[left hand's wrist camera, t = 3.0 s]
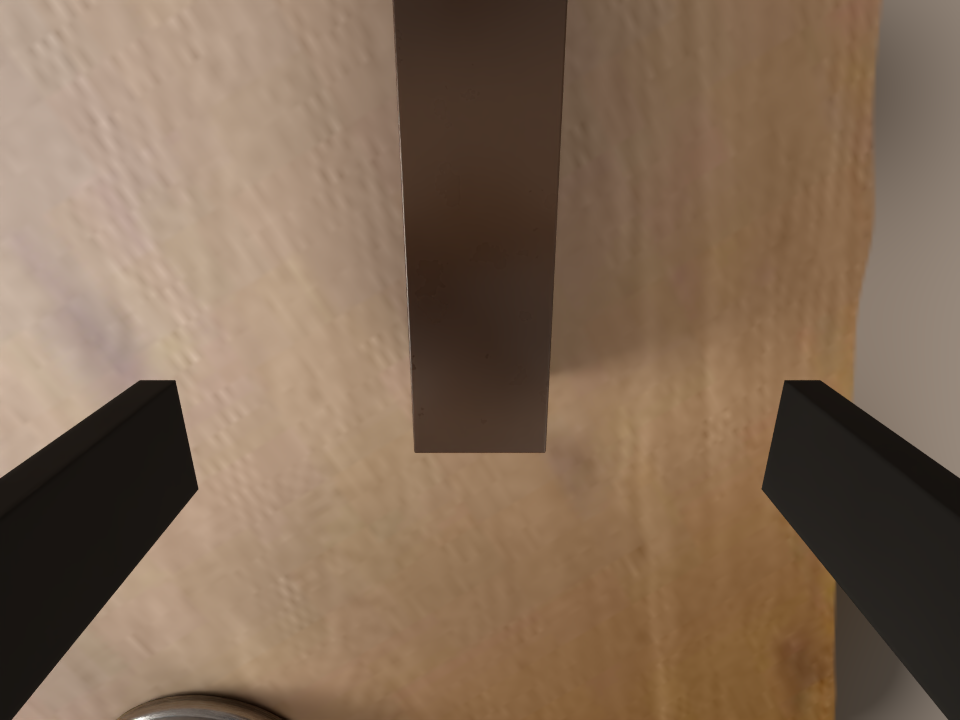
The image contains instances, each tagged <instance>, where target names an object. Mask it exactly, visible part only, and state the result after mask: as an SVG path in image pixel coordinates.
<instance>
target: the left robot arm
mask: <svg viewBox="0 0 960 720" xmlns="http://www.w3.org/2000/svg"><path fill="white" fill-rule="evenodd" d="M197 490H198V485H197V480H196V475H195V471H194V466H193V461H192V456H191V452H190V447H189V442H188V438H187V433H186V428H185V423H184V419H183V414H182V409H181V405H180V400H179V395H178V390H177V386H176V381H175V380H140V381H138V382H137V383H135V384H134V385H132V386H131V387H130V388H128V389H127V390H125V391H124V392H123V393H121V394H120V395H118V396H117V397H115V398H114V399H113V400H111V401H110V402H108V403H107V404H105V405H104V406H103V407H101V408H100V409H98V410H97V411H95V412H94V413H93V414H91V415H90V416H88V417H87V418H85V419H84V420H83V421H81V422H80V423H78V424H77V425H76V426H74V427H73V428H71V429H70V430H68V431H67V432H66V433H64V434H63V435H61V436H60V437H58V438H57V439H56V440H54V441H53V442H51V443H50V444H48V445H47V446H46V447H44V448H43V449H41V450H40V451H39V452H37V453H36V454H34V455H33V456H31V457H30V458H29V459H27V460H26V461H24V462H23V463H21V464H20V465H19V466H17V467H16V468H14V469H13V470H11V471H10V472H9V473H7V474H6V475H4V476H3V477H1V478H0V720H12V719H13V717H14V716H15V715H16V714H17V713H18V711H19V710H20V709H21V708H22V706H23V705H24V704H25V703H26V701H27V700H28V699H29V698H30V696H31V695H32V694H33V693H34V692H35V690H36V689H37V688H38V687H39V685H40V684H41V683H42V682H43V680H44V679H45V678H46V677H47V675H48V674H49V673H50V672H51V671H52V669H53V668H54V667H55V666H56V664H57V663H58V662H59V661H60V659H61V658H62V657H63V656H64V654H65V653H66V652H67V651H68V650H69V648H70V647H71V646H72V645H73V643H74V642H75V641H76V640H77V638H78V637H79V636H80V635H81V633H82V632H83V631H84V630H85V629H86V627H87V626H88V625H89V624H90V622H91V621H92V620H93V619H94V617H95V616H96V615H97V614H98V613H99V611H100V610H101V609H102V608H103V606H104V605H105V604H106V603H107V601H108V600H109V599H110V598H111V596H112V595H113V594H114V593H115V592H116V590H117V589H118V588H119V587H120V585H121V584H122V583H123V582H124V580H125V579H126V578H127V577H128V575H129V574H130V573H131V572H132V571H133V569H134V568H135V567H136V566H137V564H138V563H139V562H140V561H141V559H142V558H143V557H144V556H145V554H146V553H147V552H148V551H149V550H150V548H151V547H152V546H153V545H154V543H155V542H156V541H157V540H158V538H159V537H160V536H161V535H162V533H163V532H164V531H165V530H166V529H167V527H168V526H169V525H170V524H171V522H172V521H173V520H174V519H175V517H176V516H177V515H178V514H179V512H180V511H181V510H182V509H183V508H184V506H185V505H186V504H187V503H188V501H189V500H190V499H191V498H192V496H193V495H194V494H195V493H196V491H197ZM762 490H763V491H764V493H765V494H766V495H767V496H768V498H769V499H770V500H771V501H772V503H773V504H774V505H775V506H776V508H777V509H778V510H779V511H780V512H781V514H782V515H783V516H784V517H785V519H786V520H787V521H788V522H789V524H790V525H791V526H792V527H793V529H794V530H795V531H796V532H797V533H798V535H799V536H800V537H801V538H802V540H803V541H804V542H805V543H806V545H807V546H808V547H809V548H810V550H811V551H812V552H813V553H814V554H815V556H816V557H817V558H818V559H819V561H820V562H821V563H822V564H823V566H824V567H825V568H826V569H827V571H828V572H829V573H830V574H831V575H832V577H833V578H834V579H835V580H836V582H837V583H838V584H839V585H840V587H841V588H842V589H843V590H844V592H845V593H846V594H847V595H848V596H849V598H850V599H851V600H852V601H853V603H854V604H855V605H856V606H857V608H858V609H859V610H860V611H861V613H862V614H863V615H864V616H865V617H866V619H867V620H868V621H869V622H870V624H871V625H872V626H873V627H874V629H875V630H876V631H877V632H878V634H879V635H880V636H881V637H882V638H883V640H884V641H885V642H886V643H887V645H888V646H889V647H890V648H891V650H892V651H893V652H894V653H895V654H896V656H897V657H898V658H899V659H900V661H901V662H902V663H903V664H904V666H905V667H906V668H907V669H908V671H909V672H910V673H911V674H912V675H913V677H914V678H915V679H916V680H917V682H918V683H919V684H920V685H921V687H922V688H923V689H924V690H925V692H926V693H927V694H928V695H929V696H930V698H931V699H932V700H933V701H934V703H935V704H936V705H937V706H938V708H939V709H940V710H941V711H942V713H943V714H944V715H945V716H946V717H947V719H948V720H960V478H959V477H957V476H956V475H954V474H953V473H951V472H950V471H949V470H947V469H946V468H944V467H943V466H941V465H940V464H939V463H937V462H936V461H934V460H933V459H931V458H930V457H929V456H927V455H926V454H924V453H923V452H921V451H920V450H919V449H917V448H916V447H914V446H913V445H912V444H910V443H909V442H907V441H906V440H904V439H903V438H902V437H900V436H899V435H897V434H896V433H894V432H893V431H891V430H890V429H889V428H887V427H886V426H884V425H883V424H882V423H880V422H879V421H877V420H876V419H875V418H873V417H872V416H870V415H869V414H867V413H866V412H865V411H863V410H862V409H860V408H859V407H857V406H856V405H855V404H853V403H852V402H850V401H849V400H847V399H846V398H845V397H843V396H842V395H840V394H839V393H837V392H836V391H835V390H833V389H832V388H830V387H829V386H828V385H826V384H825V383H823V382H822V381H820V380H785V381H784V386H783V390H782V395H781V400H780V405H779V409H778V414H777V419H776V423H775V428H774V433H773V438H772V442H771V447H770V452H769V456H768V461H767V466H766V471H765V475H764V480H763V485H762ZM117 720H283V719H281V718H279V717H277V716H276V715H274V714H272V713H270V712H268V711H266V710H263V709H261V708H258V707H256V706H253V705H250V704H247V703H244V702H241V701H237V700H232V699H228V698H222V697H215V696H205V695H182V696H173V697H166V698H161V699H157V700H153V701H150V702H147V703H144V704H141V705H139V706H137V707H135V708H133V709H131V710H129V711H128V712H126V713H124V714H123V715H122V716H120V717H119V718H118V719H117Z"/></svg>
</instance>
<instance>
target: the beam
mask: <svg viewBox="0 0 960 720" xmlns="http://www.w3.org/2000/svg"><path fill="white" fill-rule="evenodd" d="M393 19H394V39H395V60H396V81H397V102H398V123H399V143H400V164H401V185H402V206H403V226H404V247H405V268H406V289H407V310H408V330H409V351H410V372H411V393H412V414H413V434H414V451H415V453H545V451H546V435H547V414H548V393H549V372H550V352H551V331H552V310H553V289H554V268H555V248H556V227H557V206H558V185H559V164H560V144H561V123H562V102H563V81H564V61H565V40H566V19H567V0H393Z"/></svg>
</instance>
